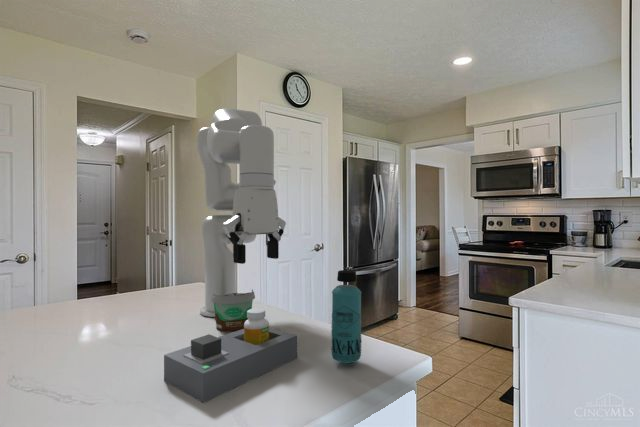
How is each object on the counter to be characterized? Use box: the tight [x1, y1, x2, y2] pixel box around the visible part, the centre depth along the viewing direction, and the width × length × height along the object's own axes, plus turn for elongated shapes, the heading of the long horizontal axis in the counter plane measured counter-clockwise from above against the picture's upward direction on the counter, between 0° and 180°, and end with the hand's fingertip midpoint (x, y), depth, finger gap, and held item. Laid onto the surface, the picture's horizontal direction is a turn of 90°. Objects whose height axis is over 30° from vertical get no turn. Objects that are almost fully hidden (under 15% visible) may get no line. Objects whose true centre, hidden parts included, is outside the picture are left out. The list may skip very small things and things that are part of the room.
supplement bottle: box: [244, 307, 270, 345], centre depth 79 cm, size 5×5×10 cm
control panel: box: [163, 326, 298, 404], centre depth 74 cm, size 24×13×8 cm, turn 142°
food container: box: [211, 289, 256, 333], centre depth 99 cm, size 12×6×10 cm, turn 117°
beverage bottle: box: [330, 269, 363, 364], centre depth 76 cm, size 6×7×20 cm
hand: (256, 260), depth 79 cm, fingers open, 9 cm apart
